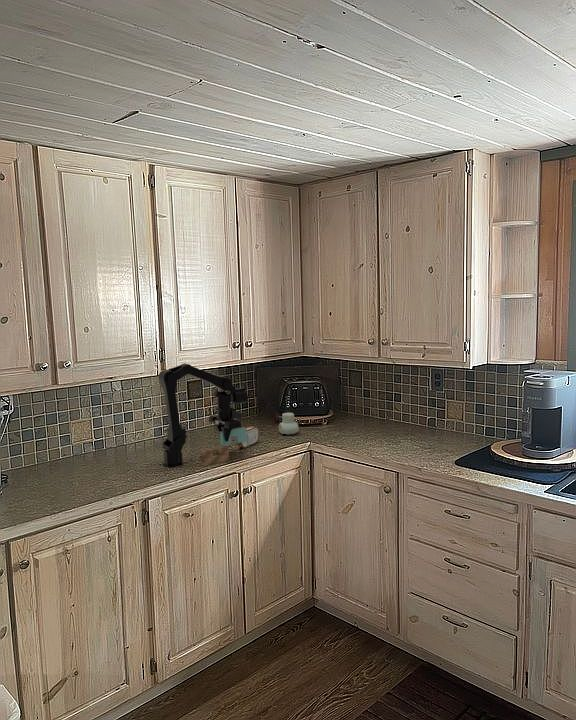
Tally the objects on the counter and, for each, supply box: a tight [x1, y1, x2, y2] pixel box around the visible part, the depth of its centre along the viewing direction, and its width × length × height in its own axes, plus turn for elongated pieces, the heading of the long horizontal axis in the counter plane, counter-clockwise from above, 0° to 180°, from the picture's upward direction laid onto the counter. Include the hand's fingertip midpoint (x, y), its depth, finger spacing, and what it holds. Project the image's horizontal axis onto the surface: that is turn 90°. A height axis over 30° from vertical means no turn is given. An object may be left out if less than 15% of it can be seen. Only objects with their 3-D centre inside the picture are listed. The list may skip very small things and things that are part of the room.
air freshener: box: [278, 412, 300, 436], centre depth 297 cm, size 11×8×10 cm
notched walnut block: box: [200, 445, 230, 467], centre depth 251 cm, size 12×2×6 cm, turn 125°
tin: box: [236, 425, 260, 448], centre depth 277 cm, size 15×3×8 cm, turn 149°
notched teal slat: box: [219, 427, 247, 447], centre depth 264 cm, size 12×2×6 cm, turn 125°
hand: (225, 440), depth 262 cm, fingers closed on notched teal slat, 2 cm apart
